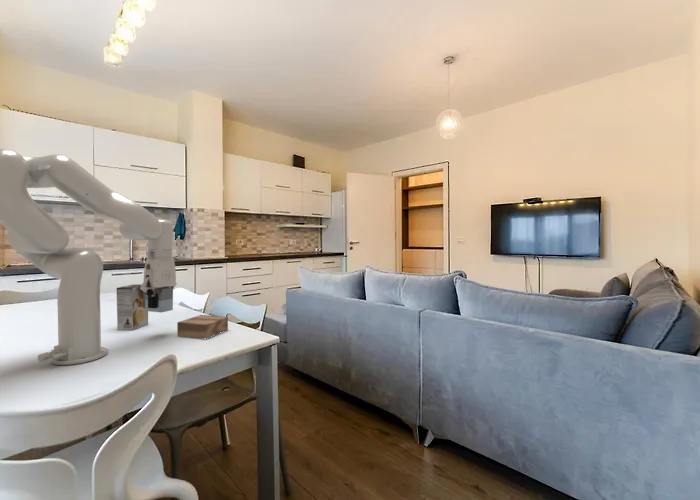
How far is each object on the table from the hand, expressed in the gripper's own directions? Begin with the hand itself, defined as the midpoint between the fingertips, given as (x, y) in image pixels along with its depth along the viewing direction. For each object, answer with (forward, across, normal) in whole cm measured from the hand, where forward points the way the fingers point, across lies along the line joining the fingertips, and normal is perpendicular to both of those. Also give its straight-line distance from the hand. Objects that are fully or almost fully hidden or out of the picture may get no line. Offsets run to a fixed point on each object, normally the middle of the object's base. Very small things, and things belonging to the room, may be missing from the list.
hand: (159, 306), depth 117 cm
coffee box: (+11, +7, +19) cm, 23 cm away
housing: (+2, 0, 0) cm, 2 cm away
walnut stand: (+10, +8, -12) cm, 18 cm away
